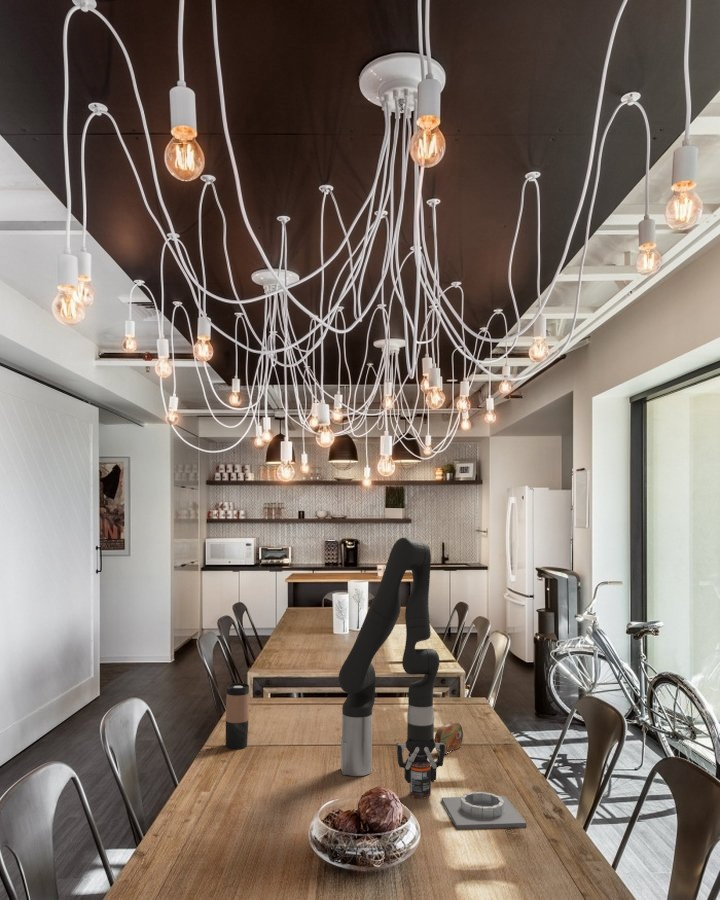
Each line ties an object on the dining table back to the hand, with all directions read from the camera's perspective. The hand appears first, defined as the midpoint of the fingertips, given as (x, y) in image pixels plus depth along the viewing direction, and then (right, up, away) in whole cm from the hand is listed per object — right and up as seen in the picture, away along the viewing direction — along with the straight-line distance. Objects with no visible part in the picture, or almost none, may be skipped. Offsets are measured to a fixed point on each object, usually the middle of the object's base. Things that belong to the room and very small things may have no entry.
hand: (420, 781), depth 205 cm
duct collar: (+15, -3, -13) cm, 20 cm away
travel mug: (-59, -7, +41) cm, 72 cm away
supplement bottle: (0, -4, 0) cm, 4 cm away
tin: (+13, -8, +39) cm, 42 cm away
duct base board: (+15, -3, -13) cm, 20 cm away
